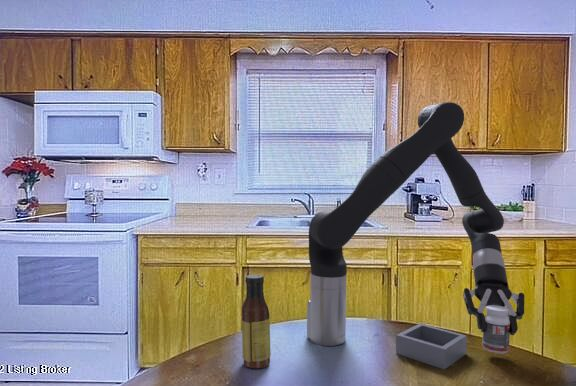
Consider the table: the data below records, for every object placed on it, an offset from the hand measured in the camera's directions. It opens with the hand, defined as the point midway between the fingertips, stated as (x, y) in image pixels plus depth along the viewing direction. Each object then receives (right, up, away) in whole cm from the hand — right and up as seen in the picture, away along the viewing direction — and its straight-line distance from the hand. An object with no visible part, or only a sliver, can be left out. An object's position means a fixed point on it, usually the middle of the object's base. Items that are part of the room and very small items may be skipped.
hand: (498, 331), depth 99 cm
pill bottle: (0, -5, +2) cm, 5 cm away
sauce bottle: (-56, -6, -3) cm, 56 cm away
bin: (-14, -6, +4) cm, 16 cm away
